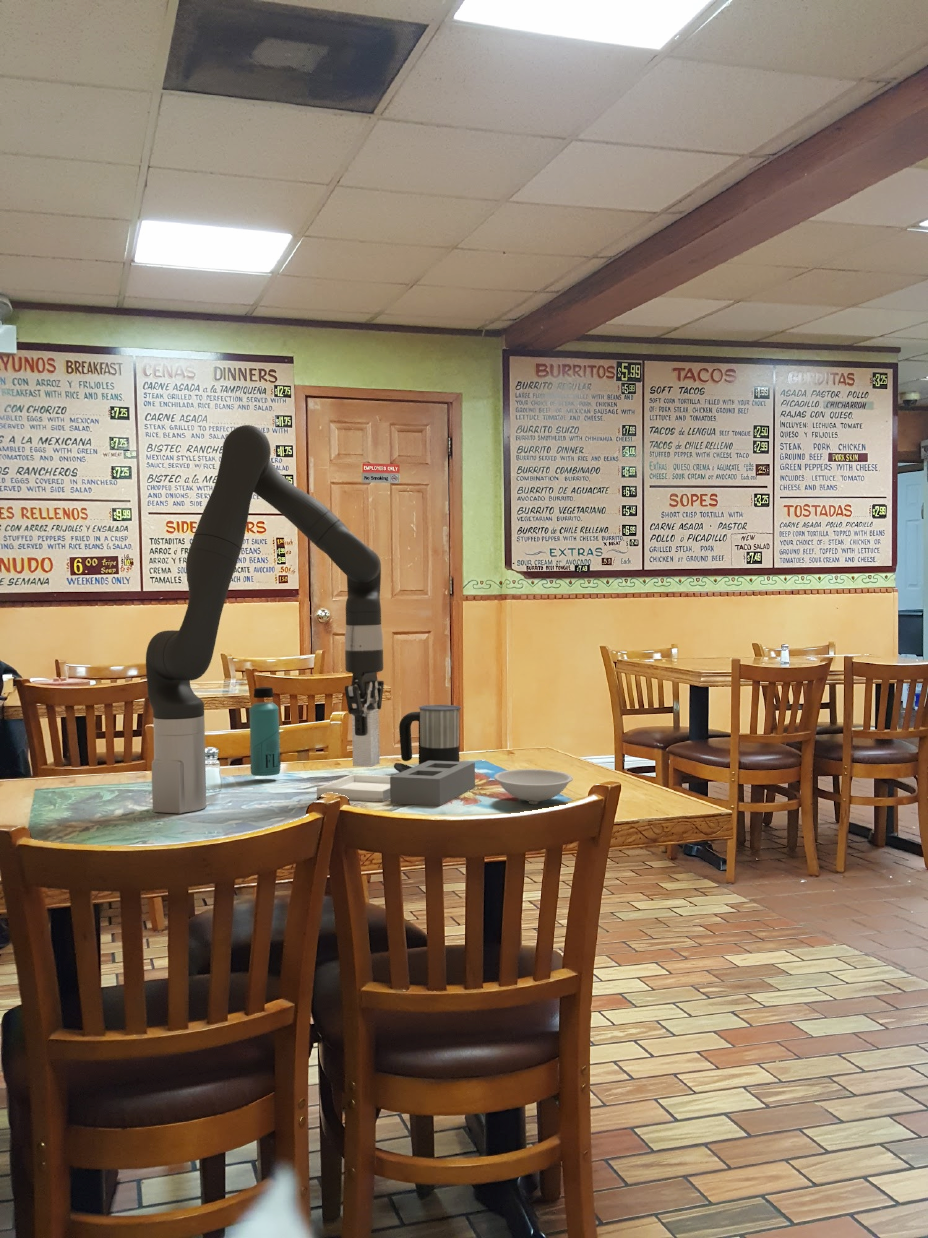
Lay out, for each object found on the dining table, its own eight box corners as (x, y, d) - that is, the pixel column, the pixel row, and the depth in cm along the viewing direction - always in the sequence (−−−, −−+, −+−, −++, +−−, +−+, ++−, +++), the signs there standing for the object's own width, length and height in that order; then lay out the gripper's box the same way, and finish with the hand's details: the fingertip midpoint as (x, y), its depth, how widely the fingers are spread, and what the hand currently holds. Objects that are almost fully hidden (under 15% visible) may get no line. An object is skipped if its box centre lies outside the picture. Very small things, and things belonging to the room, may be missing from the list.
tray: (382, 801, 204) (382, 791, 204) (316, 798, 208) (316, 787, 208) (414, 786, 219) (414, 777, 219) (352, 783, 223) (352, 774, 223)
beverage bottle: (264, 784, 225) (262, 689, 224) (243, 781, 229) (241, 687, 228) (287, 779, 230) (285, 686, 229) (266, 776, 234) (264, 685, 233)
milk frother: (462, 770, 239) (461, 703, 238) (460, 783, 223) (459, 711, 223) (398, 771, 239) (397, 704, 239) (391, 783, 223) (390, 712, 223)
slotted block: (440, 806, 199) (439, 779, 199) (390, 803, 202) (390, 776, 202) (475, 787, 218) (474, 762, 217) (429, 784, 221) (428, 760, 221)
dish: (484, 797, 207) (484, 771, 207) (556, 792, 210) (555, 767, 210) (508, 815, 190) (508, 787, 190) (585, 810, 193) (585, 782, 193)
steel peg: (371, 767, 211) (370, 711, 211) (352, 766, 212) (351, 710, 212) (379, 763, 215) (378, 709, 214) (361, 763, 216) (360, 708, 216)
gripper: (366, 650, 205) (368, 739, 205) (395, 646, 218) (397, 730, 219) (330, 649, 207) (332, 738, 208) (361, 645, 221) (363, 729, 221)
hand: (365, 733), depth 213 cm, fingers closed on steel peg, 4 cm apart
